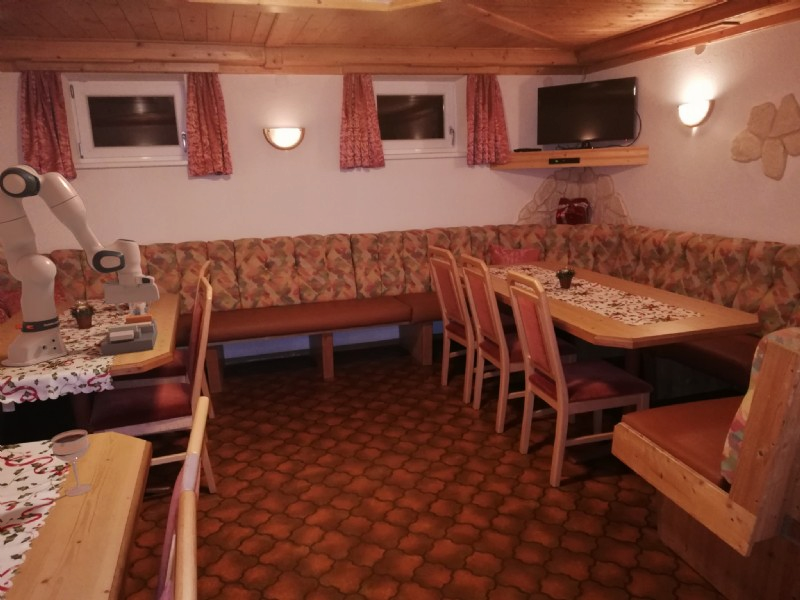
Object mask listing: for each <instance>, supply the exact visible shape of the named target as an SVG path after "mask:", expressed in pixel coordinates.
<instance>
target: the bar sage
mask: <svg viewBox="0 0 800 600" xmlns="http://www.w3.org/2000/svg"><path fill="white" fill-rule="evenodd" d="M107 330H108V332H109V335H110V333H112V332H120V331H129V330H133V332H137V331H138V327H137V323H134V324H125V325H124V324H119V325H117V324H116V325H109V326H108V327H107ZM108 332H107V333H108Z"/></svg>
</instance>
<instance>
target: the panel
mask: <svg viewBox="0 0 800 600" xmlns="http://www.w3.org/2000/svg"><path fill="white" fill-rule="evenodd" d="M156 321H157V320H156V318H153V321H152V322H151V324H152V326H143V327H138V331H137V332H134V337H133V339H124V340H116V341H110V335H109V332H107V333H106V335H105V338H104V340H103V341H102V342H101V344H100V350H101V351H100V353H101V356H102V357H103V356H111V355H119V354H121V355H122V354H129V353H137V352H145V351H152V350H154V349H155V345H156V344H155V343H156V341H157V337H158V333H159V332H158V326H157V322H156ZM125 324H126V321H124V323H123V325H125Z"/></svg>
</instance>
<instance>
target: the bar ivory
mask: <svg viewBox="0 0 800 600" xmlns="http://www.w3.org/2000/svg"><path fill="white" fill-rule="evenodd" d="M133 324H134V323H133ZM143 326H152V324H151V322H142V323H137V327H143Z"/></svg>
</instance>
